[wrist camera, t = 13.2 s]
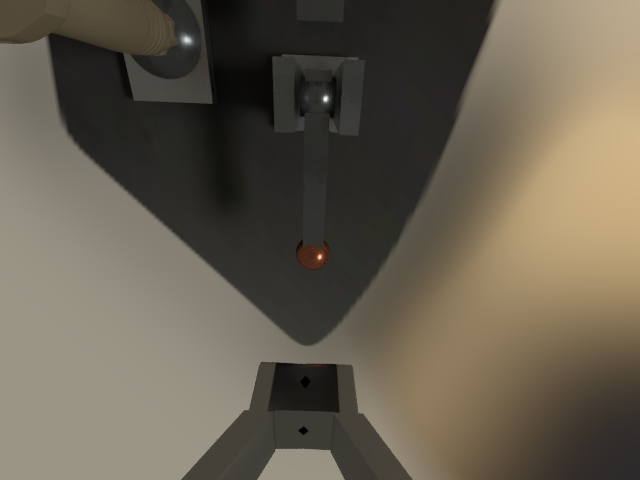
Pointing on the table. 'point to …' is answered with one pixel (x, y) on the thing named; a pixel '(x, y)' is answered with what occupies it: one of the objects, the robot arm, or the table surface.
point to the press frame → (199, 77)
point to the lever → (316, 129)
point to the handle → (90, 23)
